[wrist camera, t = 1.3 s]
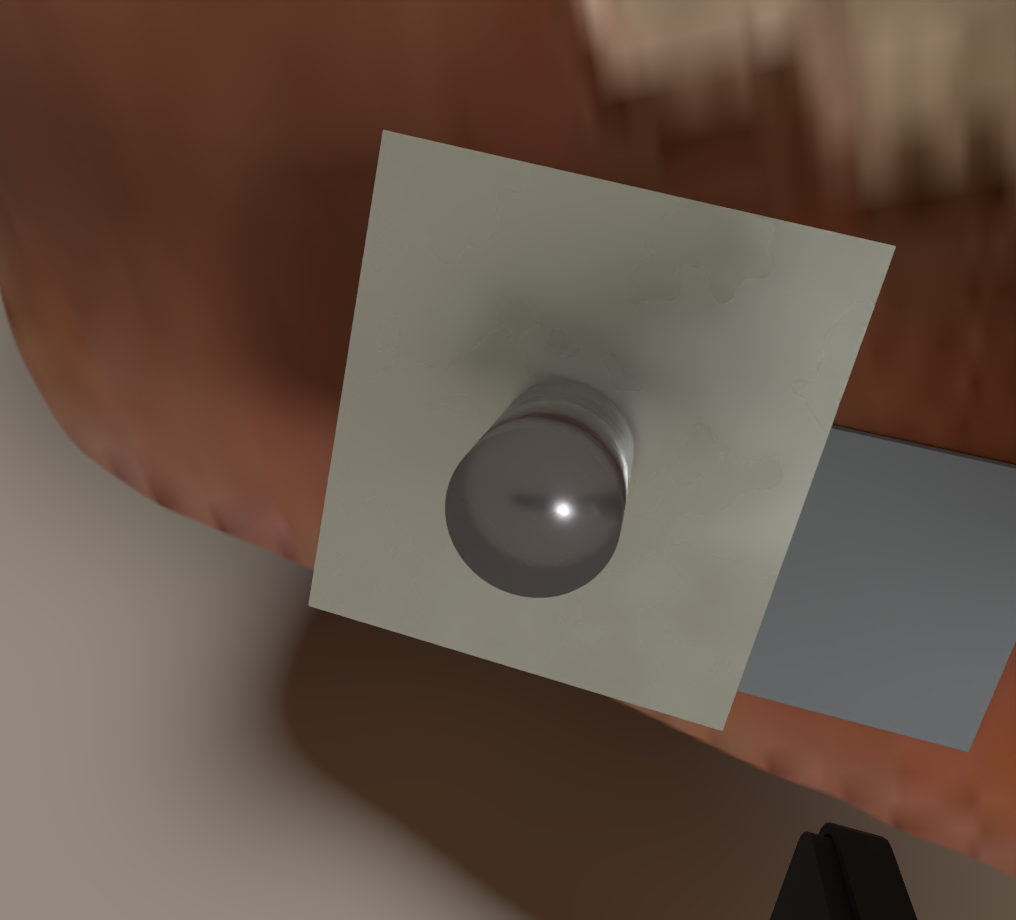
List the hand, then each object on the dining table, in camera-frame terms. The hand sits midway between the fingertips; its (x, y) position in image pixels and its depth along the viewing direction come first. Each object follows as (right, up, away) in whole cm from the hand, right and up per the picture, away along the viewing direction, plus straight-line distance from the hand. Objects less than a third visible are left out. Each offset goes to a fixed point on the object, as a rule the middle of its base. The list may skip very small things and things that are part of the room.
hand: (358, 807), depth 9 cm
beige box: (+7, +9, +29) cm, 32 cm away
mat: (+18, -2, +30) cm, 36 cm away
